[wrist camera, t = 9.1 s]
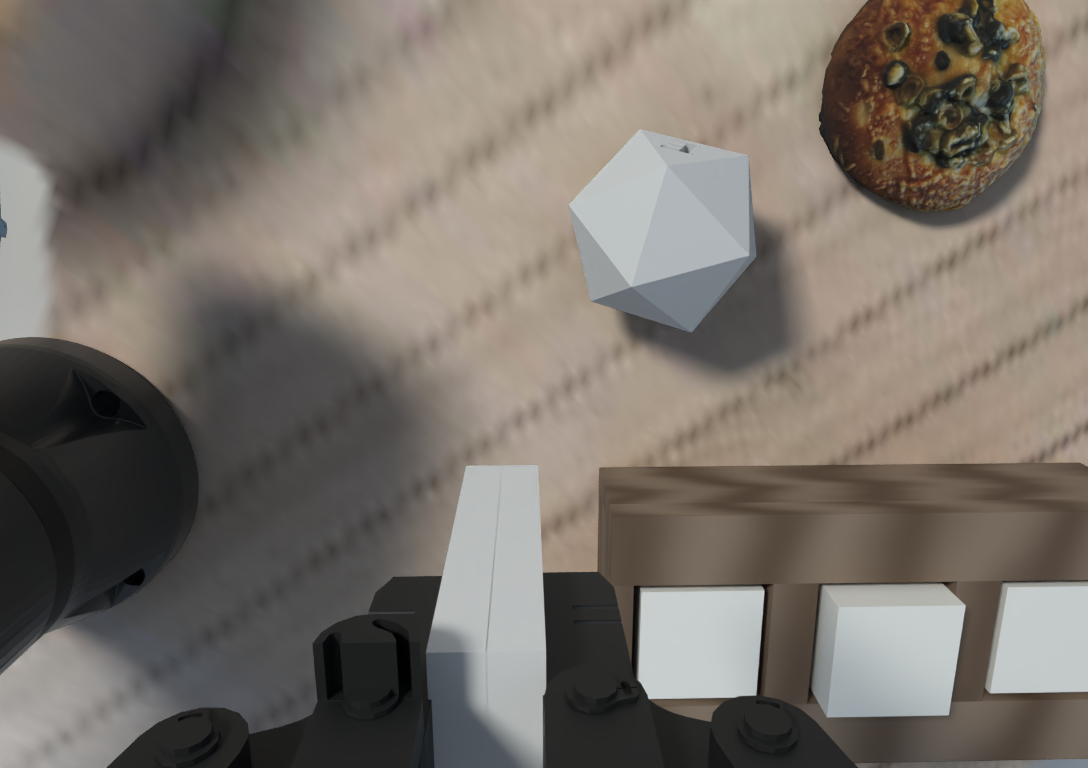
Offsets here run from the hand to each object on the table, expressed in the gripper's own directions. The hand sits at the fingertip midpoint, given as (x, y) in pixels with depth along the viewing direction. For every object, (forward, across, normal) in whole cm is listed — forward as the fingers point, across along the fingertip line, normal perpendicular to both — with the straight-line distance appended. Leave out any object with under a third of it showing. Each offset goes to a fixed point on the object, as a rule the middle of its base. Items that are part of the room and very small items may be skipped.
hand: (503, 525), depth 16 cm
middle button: (+19, +18, -15) cm, 30 cm away
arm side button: (+21, +9, -15) cm, 27 cm away
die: (+25, +7, +5) cm, 26 cm away
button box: (+24, +18, -15) cm, 34 cm away
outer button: (+21, +27, -15) cm, 37 cm away
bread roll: (+25, +20, +11) cm, 34 cm away
